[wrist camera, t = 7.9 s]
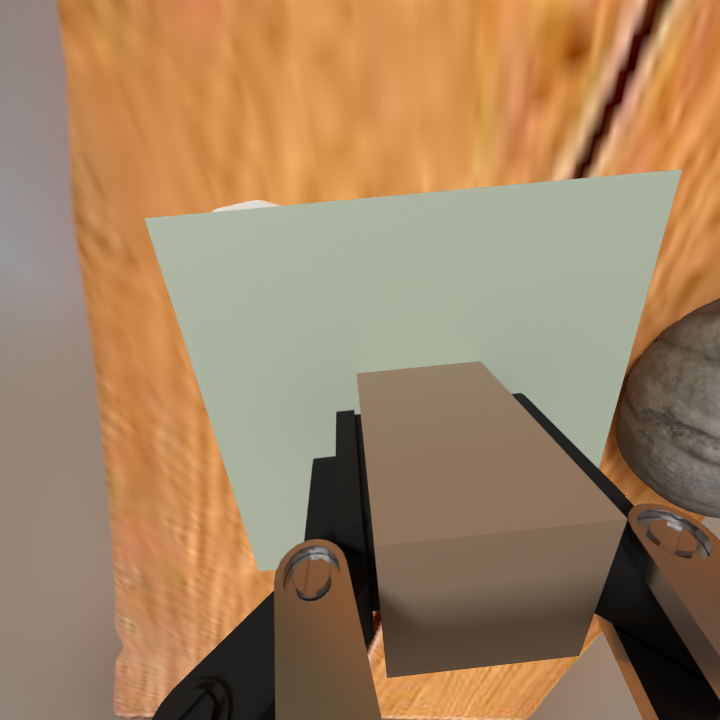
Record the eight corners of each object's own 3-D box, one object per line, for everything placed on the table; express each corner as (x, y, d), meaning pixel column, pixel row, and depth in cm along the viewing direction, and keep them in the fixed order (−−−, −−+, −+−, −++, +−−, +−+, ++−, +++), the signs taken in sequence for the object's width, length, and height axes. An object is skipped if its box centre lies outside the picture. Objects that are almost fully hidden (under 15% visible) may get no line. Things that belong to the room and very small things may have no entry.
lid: (655, 172, 9) (1262, 98, 3) (568, 520, 15) (725, 733, 9) (159, 217, 9) (-211, 232, 3) (262, 553, 15) (208, 795, 9)
